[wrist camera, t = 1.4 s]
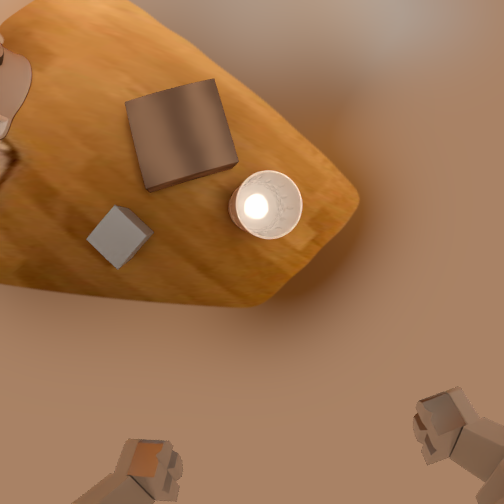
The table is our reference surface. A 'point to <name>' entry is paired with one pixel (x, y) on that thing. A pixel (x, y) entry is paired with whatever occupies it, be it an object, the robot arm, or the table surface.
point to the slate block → (119, 235)
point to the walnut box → (180, 134)
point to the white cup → (266, 205)
